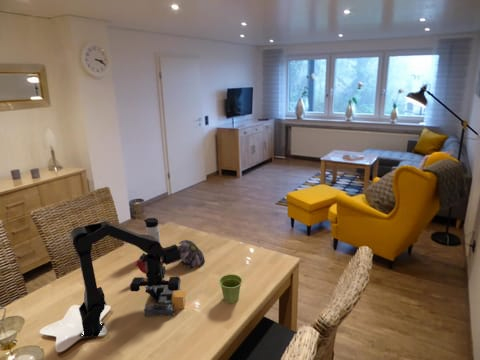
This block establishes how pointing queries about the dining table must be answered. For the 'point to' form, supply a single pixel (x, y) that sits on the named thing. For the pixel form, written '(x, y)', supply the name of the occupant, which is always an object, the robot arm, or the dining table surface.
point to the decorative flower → (190, 254)
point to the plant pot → (230, 287)
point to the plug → (175, 299)
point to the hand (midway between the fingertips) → (157, 302)
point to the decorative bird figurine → (143, 266)
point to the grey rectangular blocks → (161, 309)
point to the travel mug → (152, 228)
